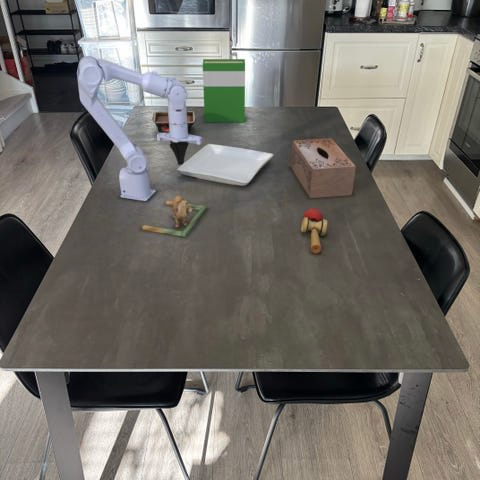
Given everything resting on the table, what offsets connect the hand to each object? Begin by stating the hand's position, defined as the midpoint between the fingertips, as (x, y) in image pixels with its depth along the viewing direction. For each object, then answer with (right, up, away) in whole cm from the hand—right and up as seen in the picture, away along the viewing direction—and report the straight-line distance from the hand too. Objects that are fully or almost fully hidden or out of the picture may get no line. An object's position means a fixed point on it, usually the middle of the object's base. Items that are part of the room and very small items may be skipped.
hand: (181, 163), depth 176 cm
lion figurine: (+2, -21, -11) cm, 24 cm away
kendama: (+41, -28, -19) cm, 53 cm away
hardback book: (+13, +38, +63) cm, 74 cm away
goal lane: (0, -20, -10) cm, 23 cm away
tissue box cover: (+48, -3, +12) cm, 49 cm away
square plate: (+15, +3, +19) cm, 24 cm away
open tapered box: (-8, +27, +49) cm, 56 cm away
